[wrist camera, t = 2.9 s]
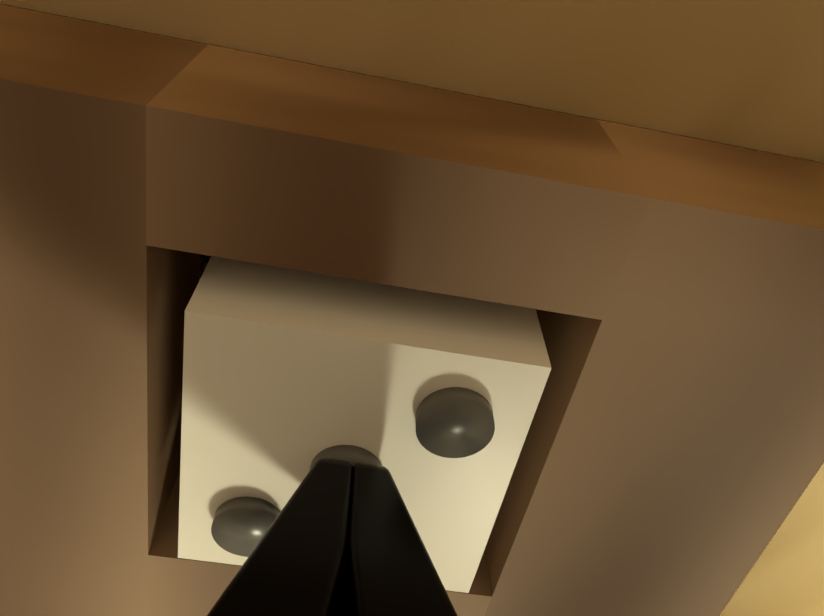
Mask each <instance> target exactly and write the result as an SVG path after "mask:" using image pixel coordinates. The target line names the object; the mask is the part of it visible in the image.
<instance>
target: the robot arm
mask: <svg viewBox="0 0 824 616" xmlns="http://www.w3.org/2000/svg"><path fill="white" fill-rule="evenodd" d="M207 616H457V613H456V611H455V609H454V607H453V605H452V603H451V601H450V599H449V596H448V594H447V592H446V590H445V588H444V586H443V584H442V582H441V579H440V577H439V575H438V573H437V571H436V569H435V567H434V565H433V562H432V560H431V558H430V556H429V554H428V552H427V550H426V548H425V545H424V543H423V541H422V539H421V537H420V535H419V533H418V531H417V528H416V526H415V524H414V522H413V520H412V518H411V516H410V514H409V511H408V509H407V507H406V505H405V503H404V501H403V499H402V497H401V494H400V492H399V490H398V488H397V486H396V484H395V482H394V480H393V477H392V475H391V473H390V472H389V470H388V469H387V468H386V467H383V466H377V465H370V464H363V463H357V464H355V465H354V467H353V469H352V465H351V463H350V462H347V461H341V460H333V459H326V458H321V459H319V460H318V461H317V462H316V463H315V464H314V465H313V467H312V468H311V470H310V471H309V472H308V474H307V475H306V477H305V478H304V479H303V481H302V482H301V484H300V485H299V486H298V488H297V489H296V491H295V492H294V493H293V495H292V496H291V498H290V499H289V501H288V502H287V503H286V505H285V506H284V508H283V509H282V510H281V512H280V513H279V515H278V516H277V517H276V519H275V520H274V522H273V523H272V524H271V526H270V527H269V529H268V530H267V531H266V533H265V534H264V536H263V537H262V538H261V540H260V541H259V543H258V544H257V545H256V547H255V548H254V550H253V551H252V553H251V554H250V555H249V557H248V558H247V560H246V561H245V562H244V564H243V565H242V567H241V568H240V569H239V571H238V572H237V574H236V575H235V576H234V578H233V579H232V581H231V582H230V583H229V585H228V586H227V588H226V589H225V590H224V592H223V593H222V595H221V596H220V598H219V599H218V600H217V602H216V603H215V605H214V606H213V607H212V609H211V610H210V612H209V613H208V614H207Z"/></svg>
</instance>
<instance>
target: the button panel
mask: <svg viewBox="0 0 824 616" xmlns="http://www.w3.org/2000/svg"><path fill="white" fill-rule="evenodd" d="M200 254H202V255H208V256H214V257H220V258H226V259H233V260H239V261H245V262H251V263H257V264H263V265H269V266H275V267H281V268H288V269H294V270H300V271H306V272H312V273H318V274H324V275H330V276H336V277H343V278H349V279H355V280H361V281H367V282H373V283H379V284H385V285H391V286H397V287H404V288H410V289H416V290H422V291H428V292H434V293H440V294H446V295H452V296H459V297H465V298H471V299H477V300H483V301H489V302H495V303H501V304H507V305H514V306H520V307H526V308H532V309H536V312H537V316H538V320H539V323H540V327H541V331H542V334H543V338H544V342H545V346H546V349H547V353H548V357H549V360H550V364H551V371H550V374H549V376H548V379H547V382H546V385H545V387H544V390H543V393H542V395H541V398H540V401H539V404H538V406H537V409H536V412H535V414H534V417H533V420H532V423H531V425H530V428H529V431H528V433H527V436H526V439H525V442H524V444H523V447H522V450H521V452H520V455H519V458H518V460H517V463H516V466H515V469H514V471H513V474H512V477H511V479H510V482H509V485H508V488H507V490H506V493H505V496H504V498H503V501H502V504H501V507H500V509H499V512H498V515H497V517H496V520H495V523H494V525H493V528H492V531H491V534H490V536H489V539H488V542H487V544H486V547H485V550H484V553H483V555H482V558H481V561H480V563H479V566H478V569H477V572H476V574H475V577H474V580H473V582H472V585H471V588H470V590H469V593H464V592H456V591H448V590H446V592H447V594H448V596H449V599H450V601H451V603H452V605H453V607H454V609H455V611H456V613H457V616H719V615H720V614H721V612H722V611H723V609H724V608H725V607H726V605H727V604H728V602H729V601H730V599H731V598H732V596H733V595H734V593H735V592H736V590H737V589H738V587H739V586H740V585H741V583H742V582H743V580H744V579H745V577H746V576H747V574H748V573H749V571H750V570H751V568H752V567H753V565H754V564H755V562H756V561H757V560H758V558H759V557H760V555H761V554H762V552H763V551H764V549H765V548H766V546H767V545H768V543H769V542H770V540H771V539H772V538H773V536H774V535H775V533H776V532H777V530H778V529H779V527H780V526H781V524H782V523H783V521H784V520H785V518H786V517H787V515H788V514H789V513H790V511H791V510H792V508H793V507H794V505H795V504H796V502H797V501H798V499H799V498H800V496H801V495H802V493H803V492H804V490H805V489H806V488H807V486H808V485H809V483H810V482H811V480H812V479H813V477H814V476H815V474H816V473H817V471H818V470H819V468H820V467H821V466H822V464H823V463H824V163H820V162H814V161H809V160H804V159H799V158H794V157H789V156H783V155H778V154H773V153H768V152H763V151H758V150H752V149H747V148H742V147H737V146H732V145H726V144H721V143H716V142H711V141H706V140H701V139H695V138H690V137H685V136H680V135H675V134H669V133H664V132H659V131H654V130H649V129H644V128H638V127H633V126H628V125H623V124H618V123H613V122H607V121H602V120H597V119H592V118H587V117H582V116H576V115H571V114H566V113H561V112H556V111H550V110H545V109H540V108H535V107H530V106H525V105H519V104H514V103H509V102H504V101H499V100H494V99H488V98H483V97H478V96H473V95H468V94H462V93H457V92H452V91H447V90H442V89H437V88H431V87H426V86H421V85H416V84H411V83H406V82H400V81H395V80H390V79H385V78H380V77H374V76H369V75H364V74H359V73H354V72H349V71H343V70H338V69H333V68H328V67H323V66H318V65H312V64H307V63H302V62H297V61H292V60H286V59H281V58H276V57H271V56H266V55H261V54H255V53H250V52H245V51H240V50H235V49H230V48H224V47H219V46H214V45H209V44H204V43H198V42H193V41H188V40H183V39H178V38H173V37H167V36H162V35H157V34H152V33H147V32H142V31H136V30H131V29H126V28H121V27H116V26H110V25H105V24H100V23H95V22H90V21H85V20H79V19H74V18H69V17H64V16H59V15H54V14H48V13H43V12H38V11H33V10H28V9H22V8H17V7H12V6H7V5H2V4H0V616H207V614H208V613H209V612H210V610H211V609H212V607H213V606H214V605H215V603H216V602H217V600H218V599H219V598H220V596H221V595H222V593H223V592H224V590H225V589H226V588H227V586H228V585H229V583H230V582H231V581H232V579H233V578H234V576H235V575H236V574H237V572H238V571H239V569H240V568H241V567H242V566H241V565H233V564H225V563H217V562H208V561H200V560H192V559H183V558H178V531H179V495H180V458H181V422H182V386H183V350H184V314H185V309H186V307H187V305H188V303H189V301H190V299H191V297H192V295H193V293H194V291H195V289H196V287H197V285H198V282H199V269H200Z"/></svg>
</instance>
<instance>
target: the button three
mask: <svg viewBox="0 0 824 616" xmlns="http://www.w3.org/2000/svg"><path fill="white" fill-rule="evenodd" d="M550 371H551V364H550V360H549V357H548V353H547V349H546V346H545V342H544V338H543V334H542V331H541V327H540V323H539V320H538V316H537V312H536V309H532V308H526V307H520V306H514V305H507V304H501V303H495V302H489V301H483V300H477V299H471V298H465V297H459V296H452V295H446V294H440V293H434V292H428V291H422V290H416V289H410V288H404V287H397V286H391V285H385V284H379V283H373V282H367V281H361V280H355V279H349V278H343V277H336V276H330V275H324V274H318V273H312V272H306V271H300V270H294V269H288V268H281V267H275V266H269V265H263V264H257V263H251V262H245V261H239V260H233V259H226V258H220V257H214V256H211V258H210V260H209V262H208V264H207V266H206V268H205V270H204V272H203V274H202V276H201V278H200V280H199V282H198V285H197V287H196V289H195V291H194V293H193V295H192V297H191V299H190V301H189V303H188V305H187V307H186V309H185V314H184V350H183V386H182V422H181V458H180V495H179V531H178V558H183V559H192V560H200V561H208V562H217V563H225V564H233V565H241V566H242V565H243V564H244V562H245V561H246V560H247V558H248V557H249V555H250V554H251V553H252V551H253V550H254V548H255V547H256V545H257V544H258V543H259V541H260V540H261V538H262V537H263V536H264V534H265V533H266V531H267V530H268V529H269V527H270V526H271V524H272V523H273V522H274V520H275V519H276V517H277V516H278V515H279V513H280V512H281V510H282V509H283V508H284V506H285V505H286V503H287V502H288V501H289V499H290V498H291V496H292V495H293V493H294V492H295V491H296V489H297V488H298V486H299V485H300V484H301V482H302V481H303V479H304V478H305V477H306V475H307V474H308V472H309V471H310V470H311V468H312V467H313V465H314V464H315V463H316V462H317V461H318V460H319V459H321V458H326V459H333V460H341V461H347V462H350V463H351V465H352V469H353V467H354V465H355V464H357V463H363V464H370V465H377V466H383V467H386V468H387V469H388V470H389V472H390V473H391V475H392V477H393V480H394V482H395V484H396V486H397V488H398V490H399V492H400V494H401V497H402V499H403V501H404V503H405V505H406V507H407V509H408V511H409V514H410V516H411V518H412V520H413V522H414V524H415V526H416V528H417V531H418V533H419V535H420V537H421V539H422V541H423V543H424V545H425V548H426V550H427V552H428V554H429V556H430V558H431V560H432V562H433V565H434V567H435V569H436V571H437V573H438V575H439V577H440V579H441V582H442V584H443V586H444V588H445V590H448V591H456V592H464V593H469V590H470V588H471V585H472V582H473V580H474V577H475V574H476V572H477V569H478V566H479V563H480V561H481V558H482V555H483V553H484V550H485V547H486V544H487V542H488V539H489V536H490V534H491V531H492V528H493V525H494V523H495V520H496V517H497V515H498V512H499V509H500V507H501V504H502V501H503V498H504V496H505V493H506V490H507V488H508V485H509V482H510V479H511V477H512V474H513V471H514V469H515V466H516V463H517V460H518V458H519V455H520V452H521V450H522V447H523V444H524V442H525V439H526V436H527V433H528V431H529V428H530V425H531V423H532V420H533V417H534V414H535V412H536V409H537V406H538V404H539V401H540V398H541V395H542V393H543V390H544V387H545V385H546V382H547V379H548V376H549V374H550Z"/></svg>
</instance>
